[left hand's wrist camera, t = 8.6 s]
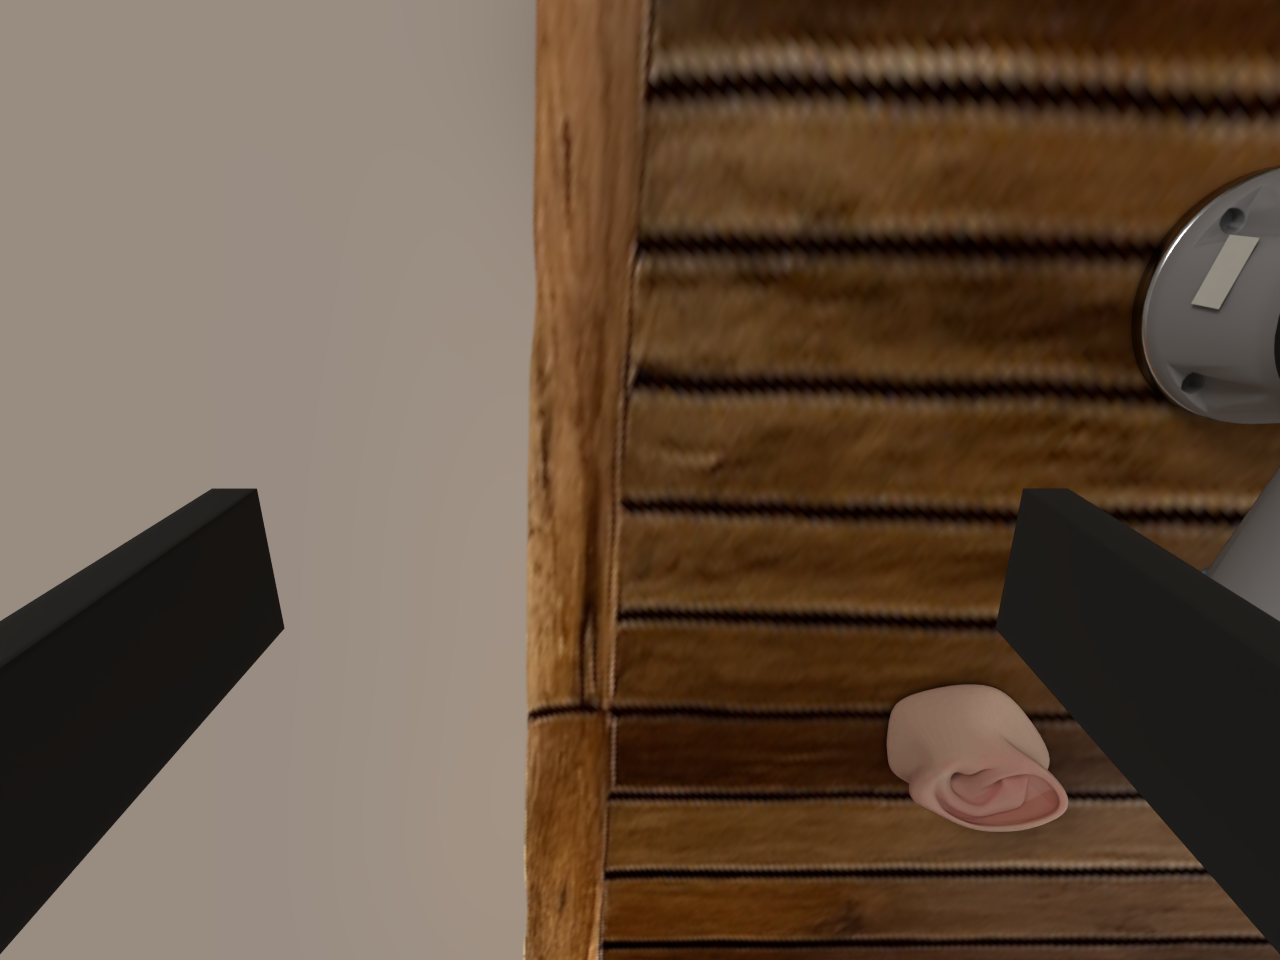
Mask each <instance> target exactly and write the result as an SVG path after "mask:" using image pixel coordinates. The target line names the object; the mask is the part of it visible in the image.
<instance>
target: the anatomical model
mask: <svg viewBox="0 0 1280 960" xmlns="http://www.w3.org/2000/svg"><path fill="white" fill-rule="evenodd" d="M887 754H888V762H889V766H890V768H891V770H892V771H893V772H894V773H895V774H896V775H897V776H898V777H899V778H901V779H902V780H904V781H906V782H907V783H909V792H910V795H911V797H912V799H913V800H914V801H915V802H916V803H917V804H919V805H921V806H923V807H925V808H927V809H929V810H931V811H933V812H935V813H936V814H938V815H940V816H942V817H944V818H946V819H948V820H950V821H952V822H954V823H957V824H959V825H962V826H964V827H968V828H971V829H975V830H981V831H993V832H1005V831H1018V830H1025V829H1029V828H1033V827H1037V826H1040V825H1043V824H1045V823H1048V822H1050V821H1052V820H1054V819H1056V818H1058V817H1059V816H1061V815H1062V814H1063V813H1064V812H1065V811H1066V809H1067V807H1068V797H1067V795H1066V792H1065V790H1064V789H1063V787H1062V786H1061V784H1060V783H1059V782H1058V780H1057V779H1056V778H1055V777H1054V776H1053V775H1052V774H1051V773H1050V772H1049V771H1048V770H1047V769H1048V767H1049V754H1048V751H1047V748H1046V746H1045V744H1044V742H1043V740H1042V738H1041V736H1040V734H1039V733H1038V731H1037V730H1036V728H1035V727H1034V725H1033V724H1032V722H1031V721H1030V720H1029V718H1028V717H1027V716H1026V714H1025V713H1024V712H1023V711H1022V709H1021V708H1020V707H1019V706H1018V705H1017V704H1016V703H1015V702H1014V701H1013V700H1012V699H1011V698H1010V697H1009V696H1008V695H1006V694H1005V693H1003V692H1002V691H1000V690H998V689H996V688H993V687H990V686H985V685H976V684H964V685H953V686H947V687H941V688H935V689H931V690H927V691H923V692H919V693H916V694H913V695H910V696H908V697H906V698H904V699H902V700H901V701H899V702H898V703H897V704H896V705H895V707H894V708H893V710H892V712H891V715H890V719H889V725H888V734H887Z"/></svg>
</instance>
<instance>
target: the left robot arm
mask: <svg viewBox="0 0 1280 960" xmlns="http://www.w3.org/2000/svg"><path fill="white" fill-rule="evenodd" d="M1132 340H1133V346H1134V351H1135V355H1136V359H1137V361H1138V364H1139V366H1140V369H1141V371H1142V372H1143V374H1144V376H1145V378H1146V379H1147V381H1148V382H1149V383H1150V385H1151V386H1152V387H1153V388H1154V389H1155V390H1156V392H1157V393H1158V394H1160V395H1161V396H1162V397H1163V398H1164V399H1166V400H1167V401H1169V402H1170V403H1172V404H1173V405H1175V406H1177V407H1179V408H1181V409H1183V410H1186V411H1188V412H1191V413H1194V414H1197V415H1200V416H1203V417H1206V418H1209V419H1213V420H1218V421H1225V422H1231V423H1240V424H1265V423H1280V166H1275V167H1270V168H1265V169H1261V170H1258V171H1254V172H1251V173H1249V174H1246V175H1244V176H1241V177H1239V178H1237V179H1235V180H1232V181H1230V182H1228V183H1226V184H1225V185H1223V186H1221V187H1220V188H1218V189H1216V190H1214V191H1213V192H1212V193H1210V194H1209V195H1207V196H1206V197H1204V198H1203V199H1202V200H1200V201H1199V202H1198V203H1197V204H1195V205H1194V206H1193V207H1192V208H1191V209H1190V210H1189V211H1188V212H1186V213H1185V214H1184V215H1183V216H1182V217H1181V218H1180V219H1179V220H1178V221H1177V223H1176V224H1175V225H1174V226H1173V227H1172V228H1171V229H1170V231H1169V232H1168V233H1167V234H1166V236H1165V237H1164V238H1163V240H1162V241H1161V243H1160V244H1159V246H1158V247H1157V249H1156V250H1155V252H1154V253H1153V255H1152V257H1151V259H1150V261H1149V263H1148V264H1147V266H1146V269H1145V271H1144V273H1143V275H1142V278H1141V281H1140V284H1139V286H1138V289H1137V293H1136V297H1135V301H1134V307H1133V313H1132ZM283 629H284V624H283V619H282V614H281V609H280V604H279V598H278V593H277V588H276V583H275V578H274V573H273V568H272V563H271V558H270V553H269V548H268V543H267V538H266V533H265V528H264V522H263V517H262V512H261V507H260V502H259V497H258V492H257V489H211V490H209V491H208V492H206V493H204V494H203V495H201V496H200V497H198V498H196V499H195V500H193V501H192V502H190V503H188V504H187V505H185V506H184V507H182V508H180V509H179V510H177V511H176V512H174V513H172V514H171V515H169V516H168V517H166V518H164V519H163V520H161V521H160V522H158V523H156V524H155V525H153V526H152V527H150V528H148V529H147V530H145V531H144V532H142V533H140V534H139V535H137V536H136V537H134V538H133V539H131V540H129V541H128V542H126V543H124V544H123V545H121V546H120V547H118V548H117V549H115V550H113V551H112V552H110V553H108V554H107V555H105V556H104V557H102V558H100V559H99V560H97V561H96V562H94V563H93V564H91V565H89V566H88V567H86V568H85V569H83V570H81V571H80V572H78V573H77V574H75V575H73V576H72V577H70V578H69V579H67V580H65V581H64V582H62V583H61V584H59V585H57V586H56V587H54V588H53V589H51V590H49V591H48V592H46V593H45V594H43V595H41V596H40V597H38V598H37V599H35V600H33V601H32V602H30V603H29V604H27V605H25V606H24V607H22V608H21V609H19V610H17V611H16V612H14V613H13V614H11V615H9V616H8V617H6V618H5V619H3V620H2V621H0V954H1V953H2V951H3V950H4V949H5V948H6V947H7V946H8V945H9V943H10V942H11V941H12V940H13V939H14V938H15V937H16V935H17V934H18V933H19V932H20V931H21V930H22V929H23V927H24V926H25V925H26V924H27V923H28V922H29V921H30V919H31V918H32V917H33V916H34V915H35V914H36V913H37V911H38V910H39V909H40V908H41V907H42V906H43V904H44V903H45V902H46V901H47V900H48V899H49V898H50V896H51V895H52V894H53V893H54V892H55V891H56V890H57V888H58V887H59V886H60V885H61V884H62V883H63V881H64V880H65V879H66V878H67V877H68V876H69V875H70V874H71V872H72V871H73V870H74V869H75V868H76V867H77V866H78V864H79V863H80V862H81V861H82V860H83V859H84V858H85V856H86V855H87V854H88V853H89V852H90V851H91V849H92V848H93V847H94V846H95V845H96V844H97V843H98V841H99V840H100V839H101V838H102V837H103V836H104V835H105V833H106V832H107V831H108V830H109V829H110V828H111V827H112V825H113V824H114V823H115V822H116V821H117V820H118V819H119V817H120V816H121V815H122V814H123V813H124V812H125V811H126V809H127V808H128V807H129V806H130V805H131V804H132V802H133V801H134V800H135V799H136V798H137V797H138V796H139V794H140V793H141V792H142V791H143V790H144V789H145V788H146V786H147V785H148V784H149V783H150V782H151V781H152V780H153V778H154V777H155V776H156V775H157V774H158V773H159V772H160V770H161V769H162V768H163V767H164V766H165V765H166V764H167V762H168V761H169V760H170V759H171V758H172V757H173V755H174V754H175V753H176V752H177V751H178V750H179V749H180V747H181V746H182V745H183V744H184V743H185V742H186V741H187V739H188V738H189V737H190V736H191V735H192V734H193V732H194V731H195V730H196V729H197V728H198V727H199V726H200V725H201V723H202V722H203V721H204V720H205V719H206V718H207V717H208V715H209V714H210V713H211V712H212V711H213V710H214V708H215V707H216V706H217V705H218V704H219V703H220V702H221V700H222V699H223V698H224V697H225V696H226V695H227V694H228V692H229V691H230V690H231V689H232V688H233V687H234V686H235V684H236V683H237V682H238V681H239V680H240V679H241V678H242V676H243V675H244V674H245V673H246V672H247V671H248V670H249V668H250V667H251V666H252V665H253V664H254V663H255V662H256V660H257V659H258V658H259V657H260V656H261V655H262V653H263V652H264V651H265V650H266V649H267V648H268V647H269V645H270V644H271V643H272V642H273V641H274V640H275V639H276V637H277V636H278V635H279V634H280V633H281V632H282V631H283ZM996 629H997V631H998V632H999V633H1000V634H1001V635H1002V636H1003V637H1004V639H1005V640H1006V641H1007V642H1008V643H1009V644H1010V645H1011V647H1012V648H1013V649H1014V650H1015V651H1016V652H1017V653H1018V655H1019V656H1020V657H1021V658H1022V659H1023V660H1024V662H1025V663H1026V664H1027V665H1028V666H1029V667H1030V668H1031V670H1032V671H1033V672H1034V673H1035V674H1036V675H1037V676H1038V678H1039V679H1040V680H1041V681H1042V682H1043V683H1044V684H1045V686H1046V687H1047V688H1048V689H1049V690H1050V691H1051V692H1052V694H1053V695H1054V696H1055V697H1056V698H1057V699H1058V700H1059V702H1060V703H1061V704H1062V705H1063V706H1064V707H1065V709H1066V710H1067V711H1068V712H1069V713H1070V714H1071V715H1072V717H1073V718H1074V719H1075V720H1076V721H1077V722H1078V723H1079V725H1080V726H1081V727H1082V728H1083V729H1084V730H1085V731H1086V733H1087V734H1088V735H1089V736H1090V737H1091V738H1092V739H1093V741H1094V742H1095V743H1096V744H1097V745H1098V746H1099V747H1100V749H1101V750H1102V751H1103V752H1104V753H1105V754H1106V755H1107V757H1108V758H1109V759H1110V760H1111V761H1112V762H1113V764H1114V765H1115V766H1116V767H1117V768H1118V769H1119V770H1120V772H1121V773H1122V774H1123V775H1124V776H1125V777H1126V778H1127V780H1128V781H1129V782H1130V783H1131V784H1132V785H1133V786H1134V788H1135V789H1136V790H1137V791H1138V792H1139V793H1140V794H1141V796H1142V797H1143V798H1144V799H1145V800H1146V801H1147V802H1148V804H1149V805H1150V806H1151V807H1152V808H1153V809H1154V811H1155V812H1156V813H1157V814H1158V815H1159V816H1160V817H1161V819H1162V820H1163V821H1164V822H1165V823H1166V824H1167V825H1168V827H1169V828H1170V829H1171V830H1172V831H1173V832H1174V833H1175V835H1176V836H1177V837H1178V838H1179V839H1180V840H1181V841H1182V843H1183V844H1184V845H1185V846H1186V847H1187V848H1188V849H1189V851H1190V852H1191V853H1192V854H1193V855H1194V856H1195V858H1196V859H1197V860H1198V861H1199V862H1200V863H1201V864H1202V866H1203V867H1204V868H1205V869H1206V870H1207V871H1208V872H1209V874H1210V875H1211V876H1212V877H1213V878H1214V879H1215V880H1216V882H1217V883H1218V884H1219V885H1220V886H1221V887H1222V888H1223V890H1224V891H1225V892H1226V893H1227V894H1228V895H1229V896H1230V898H1231V899H1232V900H1233V901H1234V902H1235V903H1236V904H1237V906H1238V907H1239V908H1240V909H1241V910H1242V911H1243V913H1244V914H1245V915H1246V916H1247V917H1248V918H1249V919H1250V921H1251V922H1252V923H1253V924H1254V925H1255V926H1256V927H1257V929H1258V930H1259V931H1260V932H1261V933H1262V934H1263V935H1264V937H1265V938H1266V939H1267V940H1268V941H1269V942H1270V943H1271V945H1272V946H1273V947H1274V948H1275V949H1276V950H1277V951H1278V953H1279V954H1280V467H1279V468H1278V470H1277V471H1276V473H1275V474H1274V475H1273V477H1272V478H1271V480H1270V481H1269V483H1268V484H1267V486H1266V487H1265V488H1264V490H1263V491H1262V493H1261V494H1260V496H1259V497H1258V499H1257V500H1256V501H1255V503H1254V504H1253V506H1252V507H1251V509H1250V510H1249V512H1248V513H1247V514H1246V516H1245V517H1244V519H1243V520H1242V522H1241V523H1240V524H1239V526H1238V527H1237V529H1236V530H1235V532H1234V533H1233V535H1232V536H1231V537H1230V539H1229V540H1228V542H1227V543H1226V545H1225V546H1224V548H1223V549H1222V550H1221V552H1220V553H1219V555H1218V556H1217V558H1216V559H1215V561H1214V562H1213V563H1212V565H1211V566H1210V568H1209V569H1205V570H1203V571H1202V572H1200V571H1199V570H1197V569H1195V568H1194V567H1192V566H1191V565H1189V564H1187V563H1186V562H1184V561H1183V560H1181V559H1180V558H1178V557H1176V556H1175V555H1173V554H1172V553H1170V552H1168V551H1167V550H1165V549H1164V548H1162V547H1160V546H1159V545H1157V544H1156V543H1154V542H1152V541H1151V540H1149V539H1148V538H1146V537H1144V536H1143V535H1141V534H1140V533H1138V532H1136V531H1135V530H1133V529H1132V528H1130V527H1128V526H1127V525H1125V524H1124V523H1122V522H1120V521H1119V520H1117V519H1116V518H1114V517H1112V516H1111V515H1109V514H1108V513H1106V512H1104V511H1103V510H1101V509H1100V508H1098V507H1096V506H1095V505H1093V504H1092V503H1090V502H1088V501H1087V500H1085V499H1084V498H1082V497H1080V496H1079V495H1077V494H1076V493H1074V492H1072V491H1071V490H1069V489H1023V492H1022V497H1021V502H1020V507H1019V512H1018V517H1017V522H1016V527H1015V533H1014V538H1013V543H1012V548H1011V553H1010V558H1009V563H1008V568H1007V573H1006V578H1005V583H1004V588H1003V593H1002V598H1001V603H1000V608H999V614H998V619H997V624H996Z"/></svg>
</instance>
